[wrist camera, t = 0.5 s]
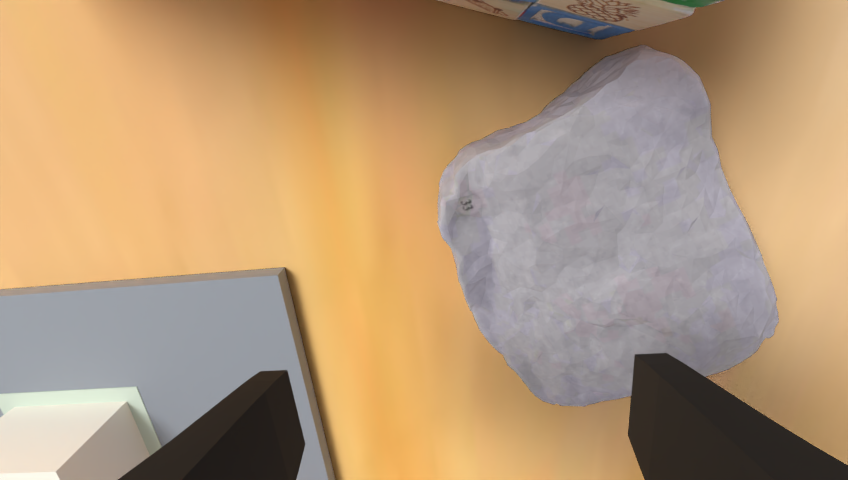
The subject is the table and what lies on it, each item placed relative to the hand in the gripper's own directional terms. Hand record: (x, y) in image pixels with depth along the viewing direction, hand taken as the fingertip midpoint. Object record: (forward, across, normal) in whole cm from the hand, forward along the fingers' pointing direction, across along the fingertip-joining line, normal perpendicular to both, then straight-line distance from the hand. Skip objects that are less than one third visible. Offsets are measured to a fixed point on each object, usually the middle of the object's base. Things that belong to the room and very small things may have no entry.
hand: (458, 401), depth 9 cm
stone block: (+10, -5, 0) cm, 11 cm away
